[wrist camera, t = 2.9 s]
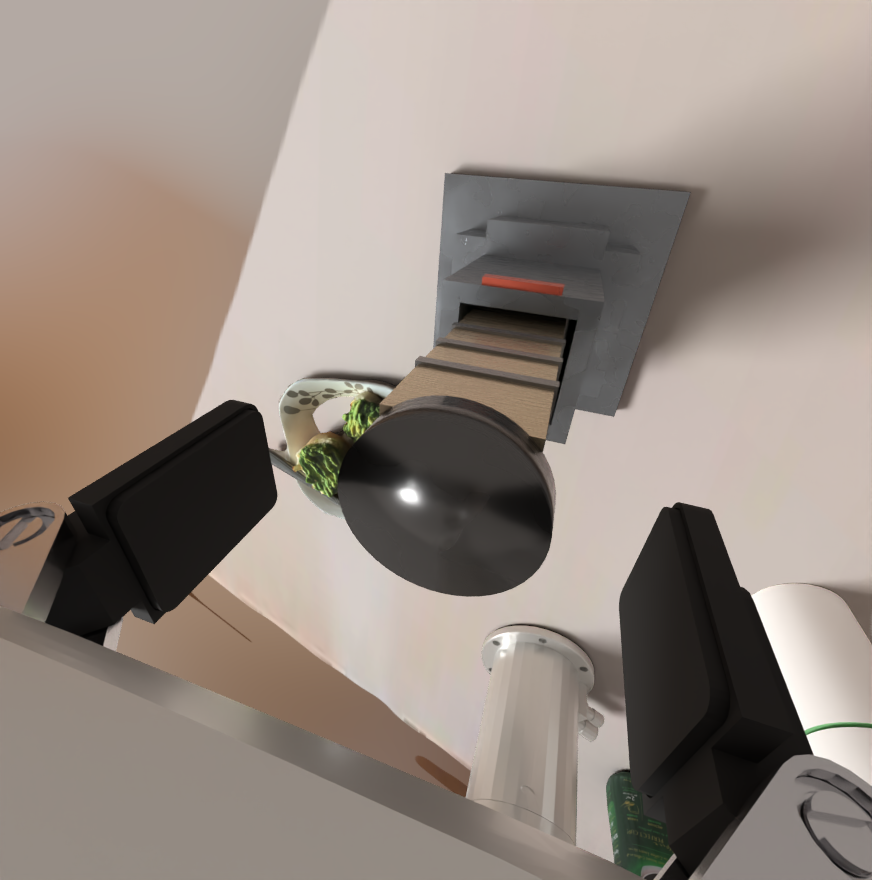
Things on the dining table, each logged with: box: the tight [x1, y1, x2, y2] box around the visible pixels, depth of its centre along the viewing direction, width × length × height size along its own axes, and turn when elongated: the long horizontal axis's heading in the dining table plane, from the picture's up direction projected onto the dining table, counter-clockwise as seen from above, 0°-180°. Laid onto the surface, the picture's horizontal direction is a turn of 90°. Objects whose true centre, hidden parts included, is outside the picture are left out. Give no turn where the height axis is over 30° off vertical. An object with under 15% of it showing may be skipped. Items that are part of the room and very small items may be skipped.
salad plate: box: [269, 378, 396, 519], centre depth 40 cm, size 19×18×5 cm
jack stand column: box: [338, 305, 569, 596], centre depth 19 cm, size 5×5×22 cm
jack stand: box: [433, 173, 691, 444], centre depth 23 cm, size 14×14×13 cm
